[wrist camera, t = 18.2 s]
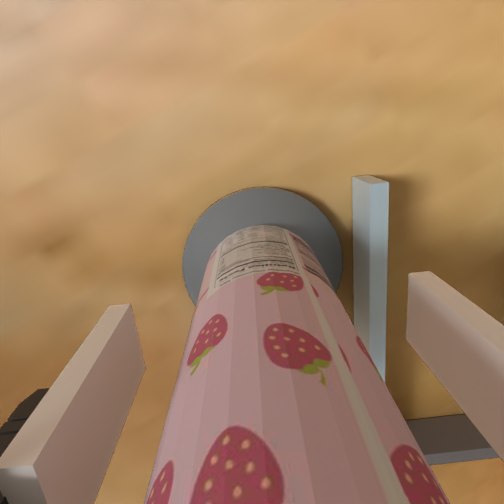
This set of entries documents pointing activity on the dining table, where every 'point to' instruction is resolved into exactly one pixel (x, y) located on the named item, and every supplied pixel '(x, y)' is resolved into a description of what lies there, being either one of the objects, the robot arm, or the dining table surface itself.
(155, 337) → the dining table surface
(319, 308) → the beverage can
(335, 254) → the grey round disc
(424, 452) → the channel
